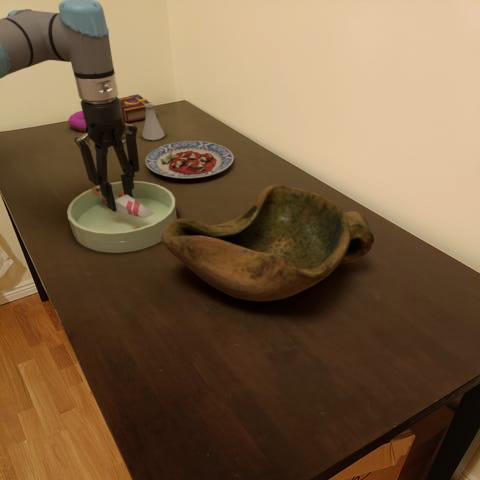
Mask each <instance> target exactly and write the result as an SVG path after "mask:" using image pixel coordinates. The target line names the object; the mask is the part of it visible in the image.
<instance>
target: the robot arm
mask: <svg viewBox="0 0 480 480" xmlns="http://www.w3.org/2000/svg"><path fill="white" fill-rule="evenodd" d="M58 11H59V12H50V11H41V10H33V9H30V8H25V9H13V10H11V11H9V12H8V14H7V16H6V17H4V18H0V79H3V78H5V77H6V76H8V75H11V74H13V73H16V72H19V71H21V70H24V69H27V68H30V67H33V66H36V65H38V64H41V63H44V62H47V61H57V62H65V63H70V64H71V68H72V72H73V76H74V81H75V85H76V90H77V94H78V97H79V99H81V100H80V107H81V111H83V116H84V120H85V123H86V129H85V132H84V134H83V135H81V136H80V137H79V136H75V138H74V142H75V144H76V146H77V147H78V148H79V150H80V154H81V157H82V160H83V161H82V162H83V165H84V169H85V171H86V174H87V178H88V180H89V182H91V183H92V184H93V185H94V186H100V191H101V195H102V196H103V197H104V198H105V199H106V201H107V205H108V208H109V209H111V210H112V211H113V212H115V211H117V210H116V205H115V200H114V195H113V190H112V186H111V184H110V183H111V182H108V154H109V148H111V147H113V150H114V152H115V155H116V158H117V160H118V163H119V166H120V168H121V170H122V172H123V173H122V174H120V181H122V185H123V191H124V195H126V194H127V195H129V196H130V197H132V198H133V194H132V189H134V181H135V180H134V178H135V177H136V174H135V173H139V172H140V160H139V152H138V143H137V134H138V127H137V126H136V125H135V124H133V123H131V122H127V123H125V121H123V119H122V111H121V105H120V100H119V99H118V98H119V97H118V96H119V89H118V83H117V77H116V73H115V67H114V61H113V55H112V50H111V43H110V30H109V28H108V24H107V21H106V15H105V12H104V7H103V6H102V4H101V3H100V2H99V1H97V0H62V1H60V2H59V4H58ZM124 132H125V138H126V141H125V144H126V150H125V146H124V142H122V140H121V138H122V135H123V133H124ZM90 140H91V141H92V142H93V143H94V150H95V161H96V162H95V161H94V157H93V153H92V150H91V148H90V146H91V143H90ZM126 151H127V154H126ZM95 163H96V164H95Z"/></svg>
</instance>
